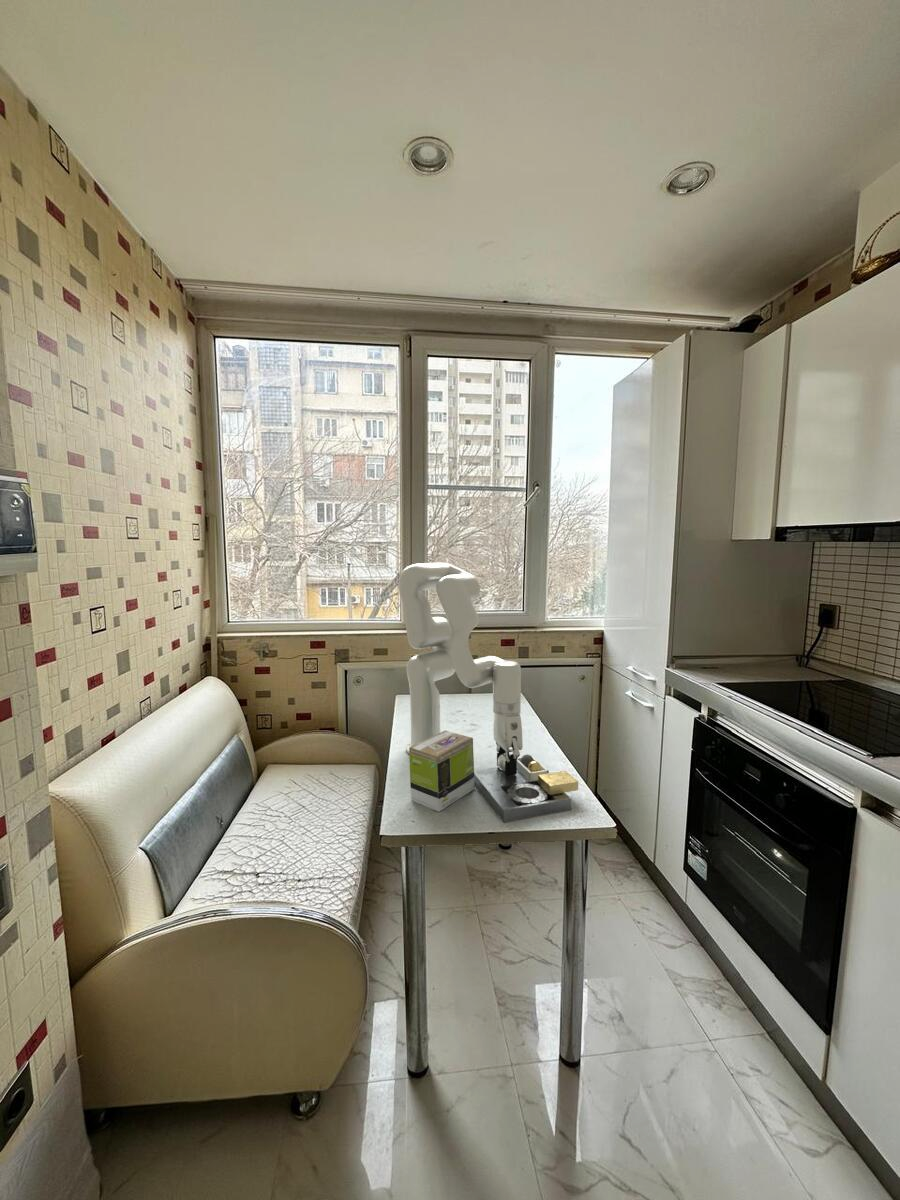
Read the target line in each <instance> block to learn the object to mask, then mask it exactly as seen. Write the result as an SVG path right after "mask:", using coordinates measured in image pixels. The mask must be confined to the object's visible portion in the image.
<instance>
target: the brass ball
mask: <svg viewBox="0 0 900 1200" xmlns="http://www.w3.org/2000/svg"><path fill="white" fill-rule="evenodd" d="M537 761H538V760H537ZM537 761H532V762H530V763H529V765H528V770H529V771H530V772H536V771H541V765H540V763H541V762H540V761H538V762H537ZM539 762H540V763H539Z"/></svg>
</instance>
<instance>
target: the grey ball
mask: <svg viewBox="0 0 900 1200" xmlns="http://www.w3.org/2000/svg"><path fill="white" fill-rule="evenodd" d="M532 756H533V755H530V754H524V755H522V756H521V757H522V759H521V763H522V764H523V765H524V766H525V767H526V768H528V765H529V763H530V762H532V761H534V760H533V757H534V756H533V757H532Z"/></svg>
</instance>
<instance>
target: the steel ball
mask: <svg viewBox="0 0 900 1200" xmlns="http://www.w3.org/2000/svg"><path fill="white" fill-rule="evenodd" d="M510 755H511V753H509V756H510ZM505 761H507V760H506V753H503V754H501V755H500V756H499V758H498V766H499V768H500V769H501V770H502V771H504V772H505ZM498 766H497V767H498Z"/></svg>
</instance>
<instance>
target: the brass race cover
mask: <svg viewBox="0 0 900 1200" xmlns="http://www.w3.org/2000/svg"><path fill="white" fill-rule="evenodd" d="M538 784H539V785H540V786H541V787H542V788H543V789H544V790H545V791H546V792H547V793H548V794H549V795H553V794H558V793H569V792H575V791H578V790H579V781H578V780H577V779H576V778H575V777H574V776H573V775H571V773H569V772H568V771H566V770H562V771H555V772H549V773H548V774H541V775H538Z"/></svg>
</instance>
